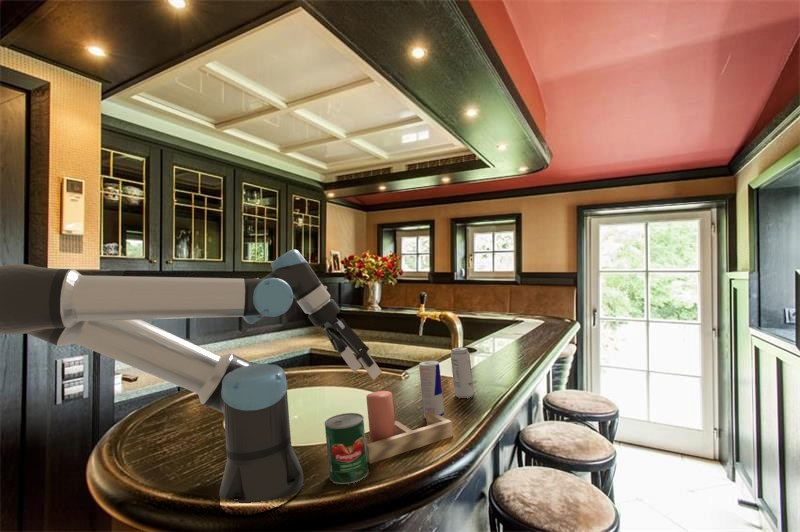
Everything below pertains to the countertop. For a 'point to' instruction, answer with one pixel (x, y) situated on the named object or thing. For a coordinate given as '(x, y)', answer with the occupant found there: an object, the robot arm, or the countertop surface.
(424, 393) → the beverage can
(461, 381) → the energy drink can
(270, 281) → the robot arm
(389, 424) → the plug
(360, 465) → the canned tomato
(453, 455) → the countertop surface
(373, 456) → the holder
